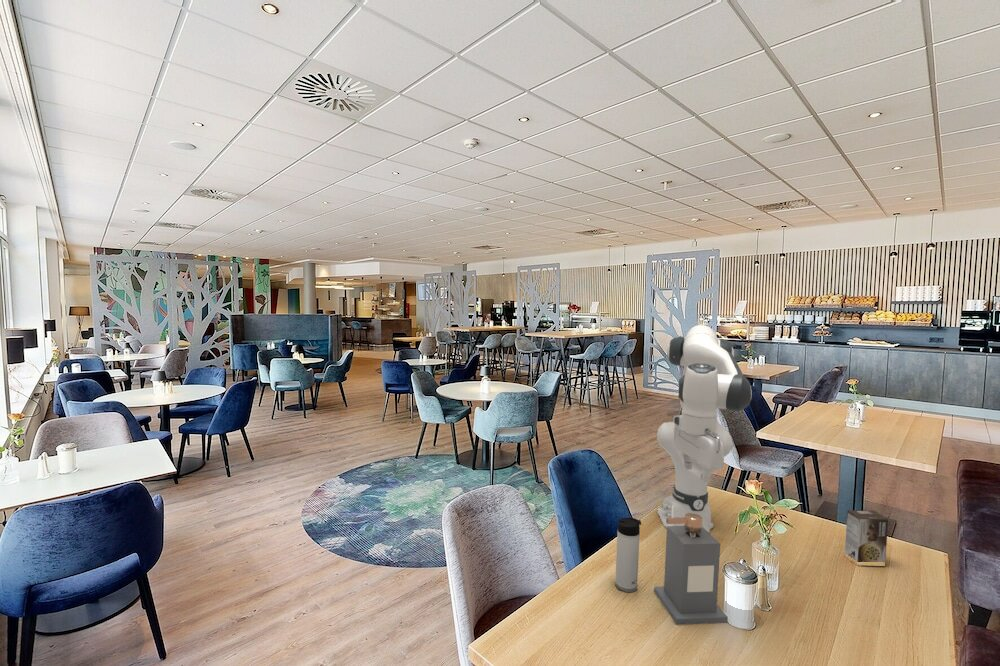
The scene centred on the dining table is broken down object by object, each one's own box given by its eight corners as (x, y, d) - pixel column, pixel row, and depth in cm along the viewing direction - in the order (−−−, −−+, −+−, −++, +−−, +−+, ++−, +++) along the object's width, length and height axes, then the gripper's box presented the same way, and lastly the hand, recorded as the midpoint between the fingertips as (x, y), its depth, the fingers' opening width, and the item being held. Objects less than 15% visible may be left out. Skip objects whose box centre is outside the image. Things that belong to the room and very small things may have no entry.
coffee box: (870, 556, 159) (874, 510, 158) (885, 567, 152) (889, 519, 151) (843, 555, 159) (846, 509, 158) (856, 566, 152) (860, 518, 151)
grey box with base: (653, 591, 136) (657, 522, 135) (700, 590, 138) (703, 521, 136) (676, 624, 123) (680, 548, 121) (727, 622, 124) (731, 547, 122)
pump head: (660, 581, 131) (664, 513, 130) (693, 580, 132) (697, 513, 131) (667, 591, 127) (671, 521, 126) (701, 590, 128) (705, 520, 126)
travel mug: (639, 594, 135) (642, 526, 134) (615, 590, 136) (618, 523, 135) (637, 581, 141) (640, 516, 140) (614, 578, 143) (617, 514, 141)
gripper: (732, 435, 117) (729, 490, 118) (691, 415, 137) (688, 461, 138) (707, 435, 116) (704, 490, 117) (670, 415, 136) (668, 462, 137)
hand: (695, 474), depth 128 cm, fingers open, 8 cm apart
